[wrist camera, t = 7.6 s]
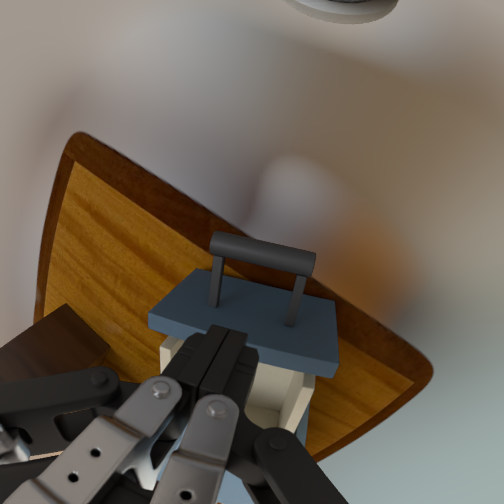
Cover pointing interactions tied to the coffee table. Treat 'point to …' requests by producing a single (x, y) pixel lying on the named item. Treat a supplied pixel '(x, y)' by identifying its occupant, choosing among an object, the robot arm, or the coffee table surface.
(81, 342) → the stand
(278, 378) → the drawer
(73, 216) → the coffee table surface
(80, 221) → the coffee table surface
